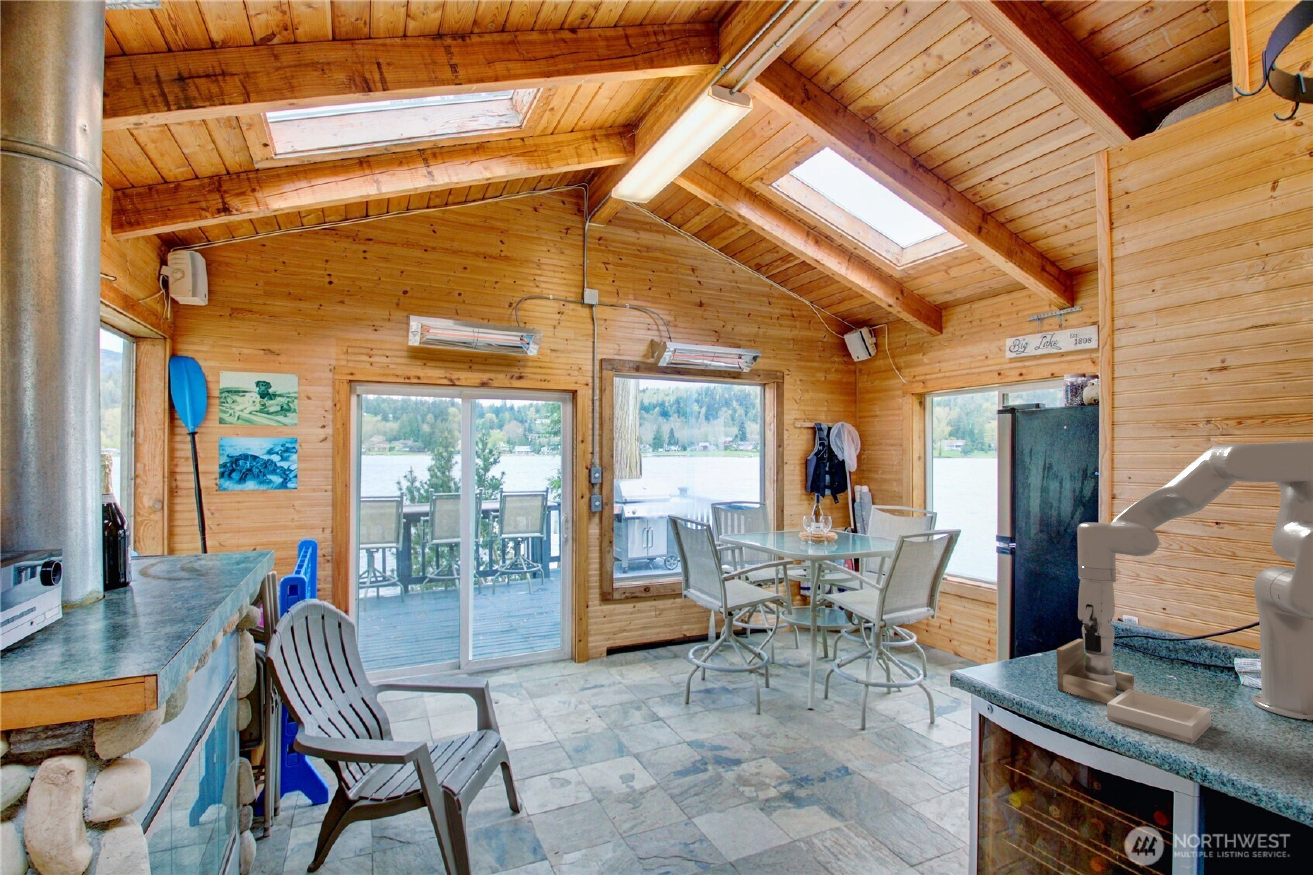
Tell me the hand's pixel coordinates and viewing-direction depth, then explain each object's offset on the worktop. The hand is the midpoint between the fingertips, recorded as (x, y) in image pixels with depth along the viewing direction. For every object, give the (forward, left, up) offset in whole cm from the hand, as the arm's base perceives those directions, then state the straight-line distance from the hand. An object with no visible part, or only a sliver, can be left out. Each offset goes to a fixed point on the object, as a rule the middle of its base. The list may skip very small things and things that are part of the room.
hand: (1098, 647), depth 152 cm
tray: (-14, +10, -11) cm, 20 cm away
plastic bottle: (0, 0, -11) cm, 11 cm away
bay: (0, 0, -11) cm, 11 cm away
